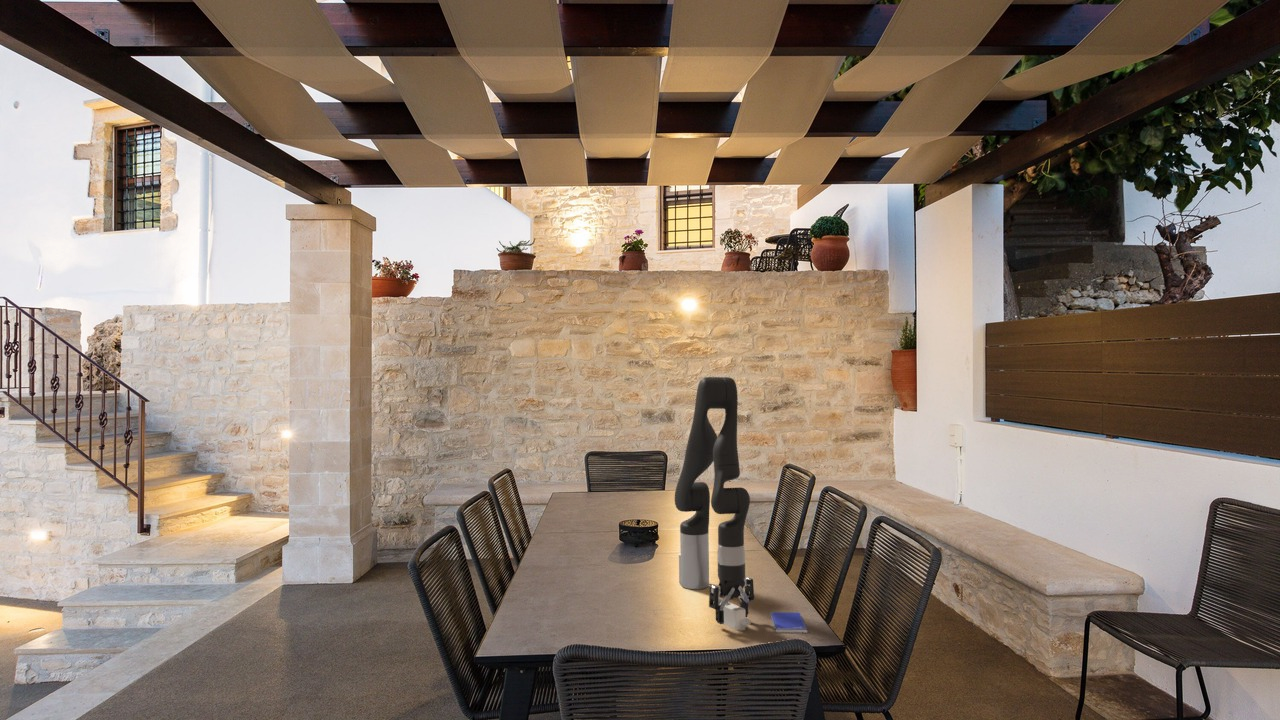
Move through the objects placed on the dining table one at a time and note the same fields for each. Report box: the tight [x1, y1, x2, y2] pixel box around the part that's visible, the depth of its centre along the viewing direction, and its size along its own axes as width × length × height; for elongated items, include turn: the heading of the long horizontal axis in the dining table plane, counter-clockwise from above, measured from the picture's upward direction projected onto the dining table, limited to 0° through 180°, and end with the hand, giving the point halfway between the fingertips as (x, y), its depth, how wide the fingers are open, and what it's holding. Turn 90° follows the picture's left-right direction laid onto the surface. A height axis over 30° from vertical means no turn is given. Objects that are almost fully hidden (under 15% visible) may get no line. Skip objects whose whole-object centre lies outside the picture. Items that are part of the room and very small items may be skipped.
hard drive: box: [770, 611, 808, 634], centre depth 191 cm, size 2×8×12 cm
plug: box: [720, 601, 752, 632], centre depth 189 cm, size 11×3×5 cm, turn 34°
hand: (732, 620), depth 190 cm, fingers open, 8 cm apart
